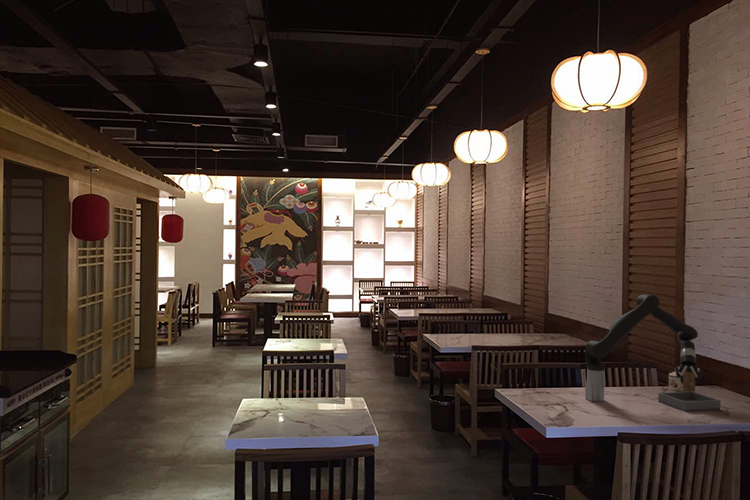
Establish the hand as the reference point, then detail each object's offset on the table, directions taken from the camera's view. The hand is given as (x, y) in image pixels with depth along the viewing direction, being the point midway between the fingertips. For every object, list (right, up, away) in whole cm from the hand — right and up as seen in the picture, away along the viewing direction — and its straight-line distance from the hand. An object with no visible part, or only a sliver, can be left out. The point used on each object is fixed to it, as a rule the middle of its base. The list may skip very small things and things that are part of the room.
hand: (689, 383), depth 307 cm
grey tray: (+1, -13, +1) cm, 13 cm away
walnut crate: (+1, -4, +2) cm, 5 cm away
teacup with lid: (+14, -13, +37) cm, 42 cm away
